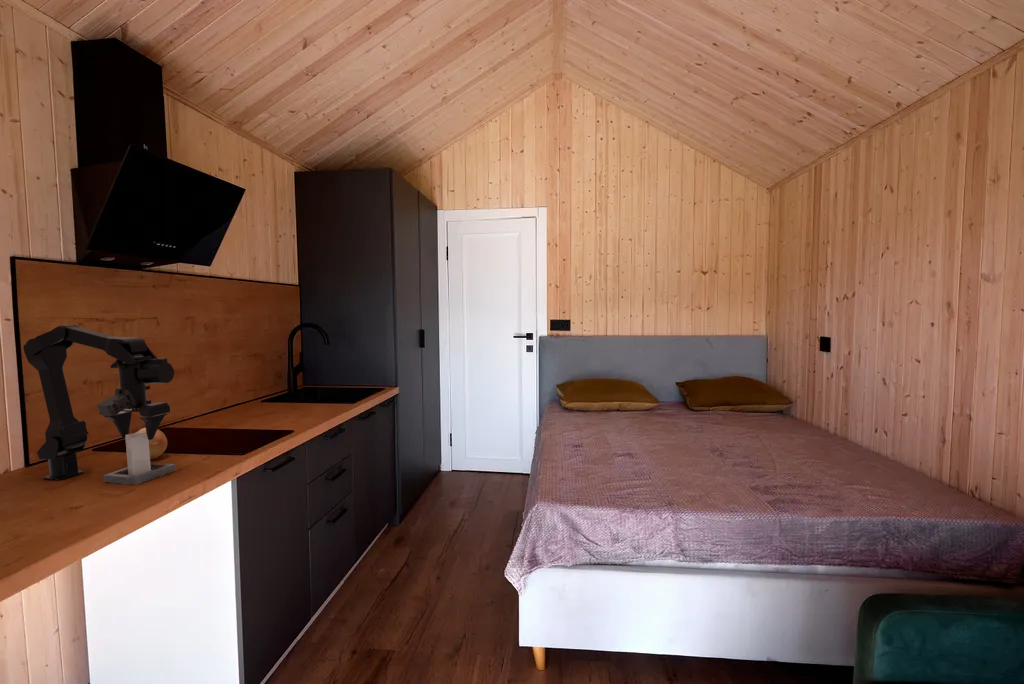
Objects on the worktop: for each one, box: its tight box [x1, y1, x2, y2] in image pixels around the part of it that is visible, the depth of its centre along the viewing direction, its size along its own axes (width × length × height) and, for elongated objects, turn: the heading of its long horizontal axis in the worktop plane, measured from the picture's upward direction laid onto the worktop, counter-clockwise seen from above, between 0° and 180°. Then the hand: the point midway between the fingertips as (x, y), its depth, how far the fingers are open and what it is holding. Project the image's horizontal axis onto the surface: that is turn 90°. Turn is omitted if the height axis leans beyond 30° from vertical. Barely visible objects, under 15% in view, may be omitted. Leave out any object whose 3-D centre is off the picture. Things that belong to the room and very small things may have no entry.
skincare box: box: [124, 432, 151, 476], centre depth 137 cm, size 6×4×12 cm
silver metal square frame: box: [102, 461, 176, 486], centre depth 137 cm, size 11×11×2 cm
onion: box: [135, 427, 168, 460], centre depth 153 cm, size 10×10×10 cm
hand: (137, 438), depth 137 cm, fingers open, 9 cm apart
